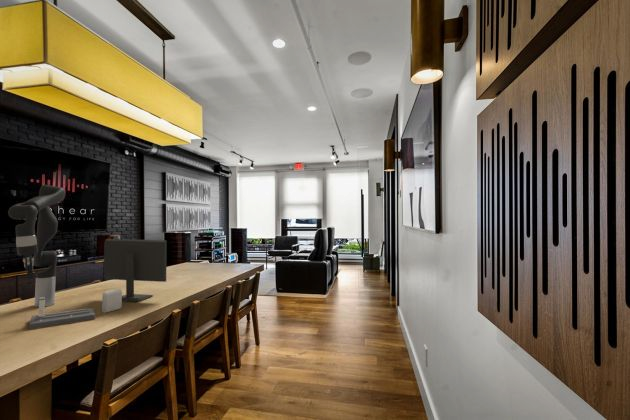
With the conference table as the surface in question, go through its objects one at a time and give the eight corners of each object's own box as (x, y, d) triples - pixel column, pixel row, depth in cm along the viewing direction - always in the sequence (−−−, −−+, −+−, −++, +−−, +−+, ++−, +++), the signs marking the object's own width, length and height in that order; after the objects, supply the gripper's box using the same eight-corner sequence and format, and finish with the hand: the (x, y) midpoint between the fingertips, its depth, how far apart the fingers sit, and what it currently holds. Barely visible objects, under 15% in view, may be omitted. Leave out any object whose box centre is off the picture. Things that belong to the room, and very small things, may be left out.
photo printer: (105, 313, 175) (106, 291, 175) (100, 312, 177) (101, 290, 177) (122, 308, 184) (123, 288, 185) (118, 307, 186) (119, 287, 187)
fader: (37, 317, 158) (38, 297, 158) (45, 316, 160) (46, 296, 160) (37, 319, 154) (38, 299, 155) (44, 318, 156) (45, 298, 157)
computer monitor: (170, 297, 213) (172, 239, 214) (156, 303, 197) (158, 241, 198) (112, 294, 217) (115, 238, 219) (94, 300, 201) (96, 239, 203)
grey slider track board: (31, 320, 161) (31, 313, 161) (92, 311, 177) (92, 305, 177) (29, 329, 148) (29, 322, 148) (94, 319, 165) (95, 312, 165)
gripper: (36, 245, 152) (40, 279, 153) (36, 241, 161) (40, 273, 163) (15, 247, 147) (19, 282, 148) (17, 244, 156) (20, 277, 158)
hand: (30, 278), depth 156 cm, fingers closed
